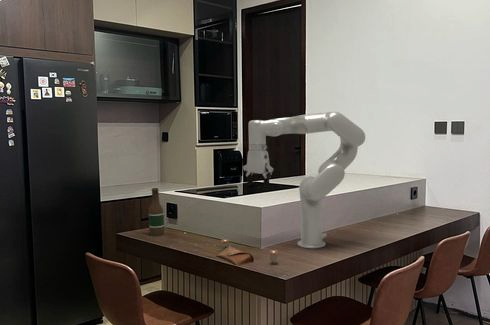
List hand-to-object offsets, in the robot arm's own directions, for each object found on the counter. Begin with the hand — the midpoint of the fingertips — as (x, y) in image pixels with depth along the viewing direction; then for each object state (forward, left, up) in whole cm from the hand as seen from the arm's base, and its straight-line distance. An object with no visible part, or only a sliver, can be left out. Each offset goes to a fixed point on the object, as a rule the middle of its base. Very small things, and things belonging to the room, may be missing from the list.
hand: (258, 185), depth 215 cm
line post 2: (+14, +20, -28) cm, 37 cm away
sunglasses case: (+20, +3, -29) cm, 35 cm away
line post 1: (+14, -8, -28) cm, 33 cm away
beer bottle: (+14, -58, -28) cm, 66 cm away
